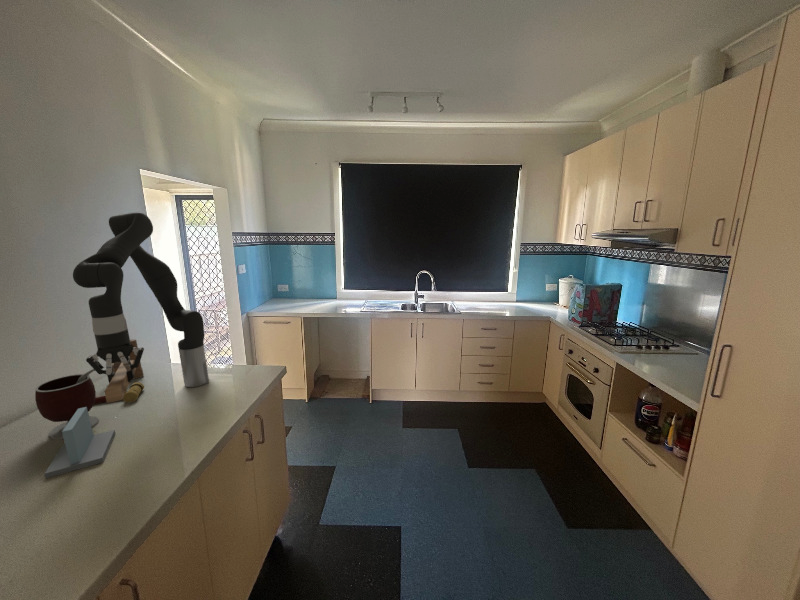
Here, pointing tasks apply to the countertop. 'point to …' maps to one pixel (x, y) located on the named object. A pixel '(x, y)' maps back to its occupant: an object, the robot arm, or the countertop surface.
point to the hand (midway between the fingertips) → (122, 382)
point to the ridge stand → (80, 446)
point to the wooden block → (132, 356)
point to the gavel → (126, 394)
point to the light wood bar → (118, 384)
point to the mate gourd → (65, 400)
